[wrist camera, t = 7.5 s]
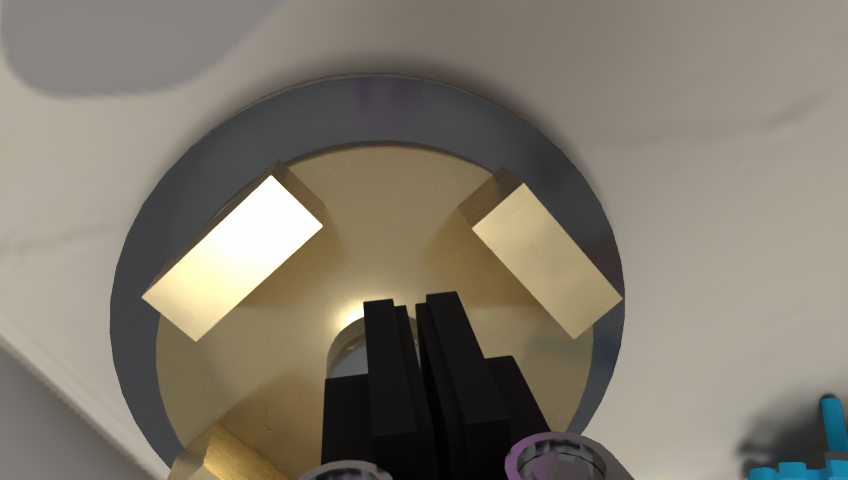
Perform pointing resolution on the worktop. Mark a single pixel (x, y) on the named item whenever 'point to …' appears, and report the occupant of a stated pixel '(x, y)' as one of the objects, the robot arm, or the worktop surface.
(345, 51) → the worktop surface
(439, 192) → the four-jaw chuck
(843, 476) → the gear
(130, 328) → the cap flange
